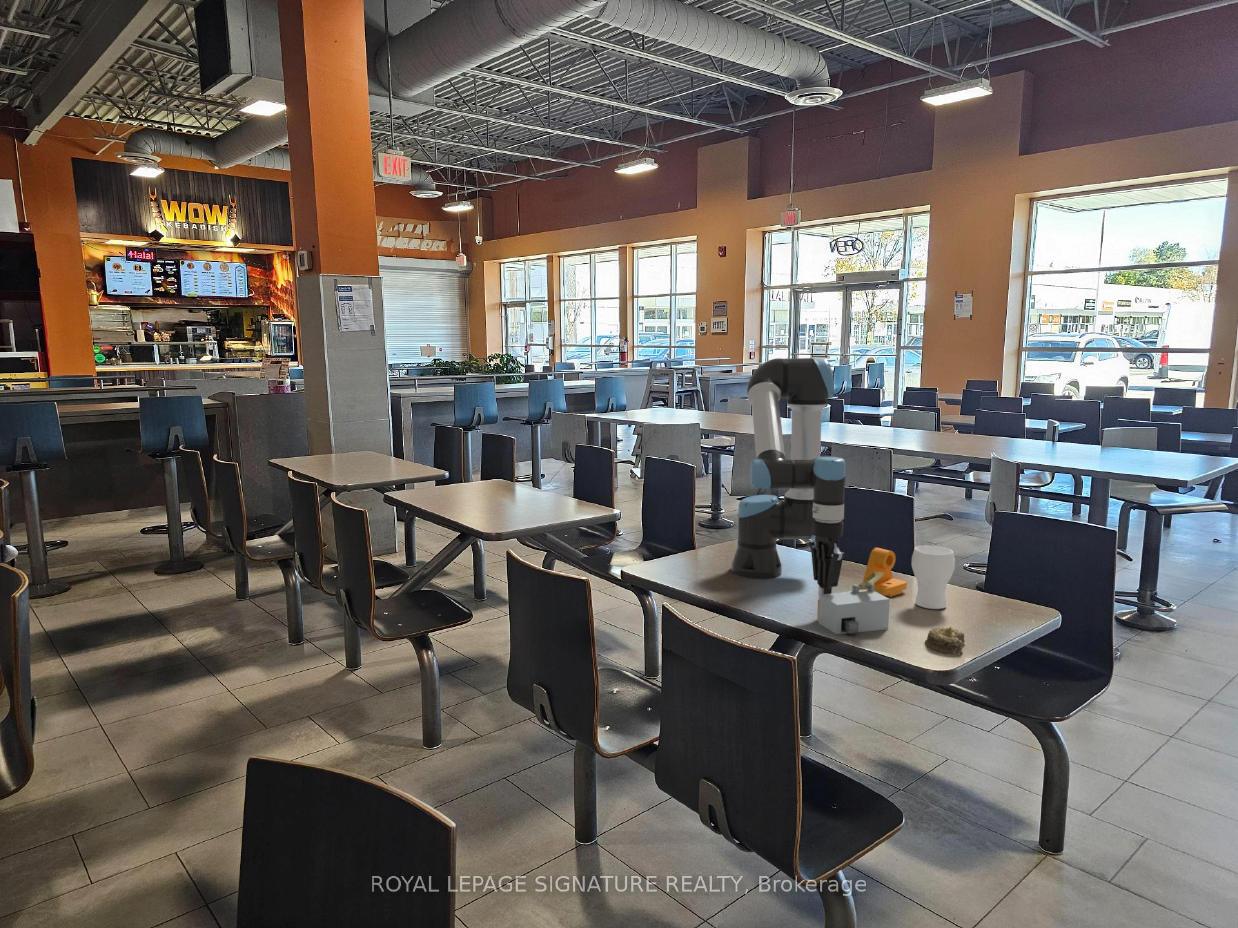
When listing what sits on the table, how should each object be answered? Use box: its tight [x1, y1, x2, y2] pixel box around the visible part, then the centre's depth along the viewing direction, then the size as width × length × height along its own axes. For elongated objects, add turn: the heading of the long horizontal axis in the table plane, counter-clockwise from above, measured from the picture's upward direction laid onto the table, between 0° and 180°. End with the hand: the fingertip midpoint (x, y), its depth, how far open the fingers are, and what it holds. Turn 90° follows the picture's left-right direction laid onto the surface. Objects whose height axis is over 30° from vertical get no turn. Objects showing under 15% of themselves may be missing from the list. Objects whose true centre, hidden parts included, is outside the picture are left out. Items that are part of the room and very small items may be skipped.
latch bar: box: [857, 572, 884, 590], centre depth 193 cm, size 9×3×1 cm
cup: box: [911, 544, 956, 610], centre depth 209 cm, size 11×11×15 cm
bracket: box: [862, 547, 907, 598], centre depth 220 cm, size 11×7×12 cm, turn 126°
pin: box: [816, 599, 859, 635], centre depth 191 cm, size 12×5×5 cm, turn 16°
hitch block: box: [818, 583, 891, 635], centre depth 193 cm, size 8×14×10 cm, turn 106°
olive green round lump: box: [924, 626, 966, 655], centre depth 180 cm, size 10×10×5 cm
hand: (824, 610), depth 198 cm, fingers closed
